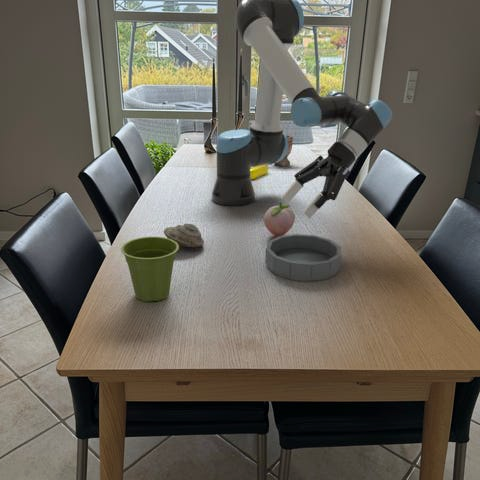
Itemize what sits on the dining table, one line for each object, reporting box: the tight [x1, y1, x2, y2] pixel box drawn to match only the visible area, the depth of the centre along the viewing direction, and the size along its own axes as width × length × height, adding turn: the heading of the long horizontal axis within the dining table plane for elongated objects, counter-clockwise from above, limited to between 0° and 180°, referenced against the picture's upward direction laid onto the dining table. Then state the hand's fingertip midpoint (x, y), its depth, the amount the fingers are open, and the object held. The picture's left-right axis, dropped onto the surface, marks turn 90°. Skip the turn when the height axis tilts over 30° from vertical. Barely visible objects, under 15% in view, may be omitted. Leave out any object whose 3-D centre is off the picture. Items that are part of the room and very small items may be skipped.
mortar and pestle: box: [274, 134, 293, 167], centre depth 209 cm, size 12×9×20 cm
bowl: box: [264, 233, 342, 283], centre depth 115 cm, size 18×18×4 cm
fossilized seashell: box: [163, 223, 205, 248], centre depth 125 cm, size 11×11×7 cm
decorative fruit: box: [263, 202, 296, 237], centre depth 131 cm, size 9×8×10 cm
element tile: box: [250, 165, 269, 181], centre depth 197 cm, size 15×15×5 cm
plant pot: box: [120, 236, 180, 302], centre depth 99 cm, size 12×12×11 cm
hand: (294, 207), depth 130 cm, fingers open, 13 cm apart
